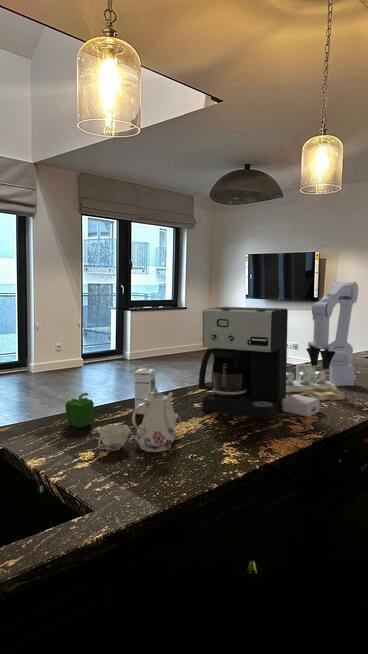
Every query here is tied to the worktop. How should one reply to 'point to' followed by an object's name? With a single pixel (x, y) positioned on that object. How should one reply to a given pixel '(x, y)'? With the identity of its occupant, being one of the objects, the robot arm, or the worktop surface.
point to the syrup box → (143, 386)
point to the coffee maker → (245, 360)
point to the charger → (300, 405)
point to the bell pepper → (79, 411)
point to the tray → (324, 393)
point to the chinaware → (146, 426)
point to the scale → (301, 388)
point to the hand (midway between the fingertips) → (319, 367)
